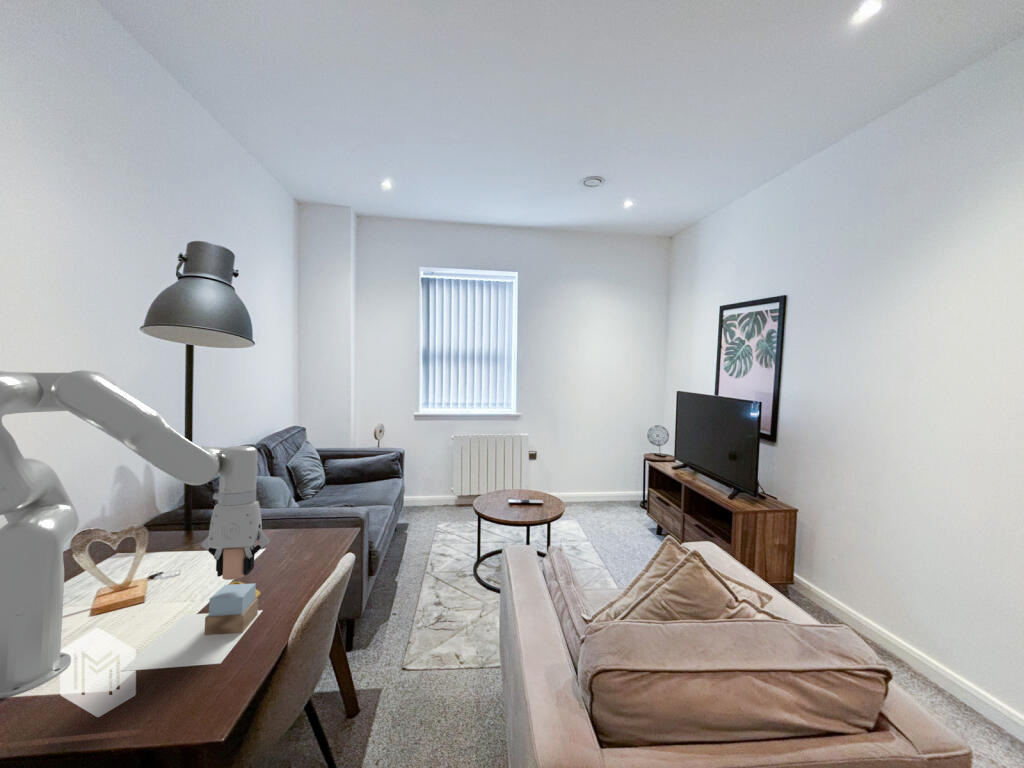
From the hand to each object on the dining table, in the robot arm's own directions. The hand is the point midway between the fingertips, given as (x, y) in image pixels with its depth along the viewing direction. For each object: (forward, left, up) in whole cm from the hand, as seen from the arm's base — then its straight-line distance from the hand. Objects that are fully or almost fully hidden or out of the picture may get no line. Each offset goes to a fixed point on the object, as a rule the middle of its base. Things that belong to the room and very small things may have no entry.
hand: (235, 572), depth 99 cm
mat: (-5, -5, -13) cm, 14 cm away
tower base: (0, 0, -12) cm, 12 cm away
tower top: (0, 0, -8) cm, 8 cm away
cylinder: (0, 0, -1) cm, 1 cm away
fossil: (-6, +15, -14) cm, 21 cm away
